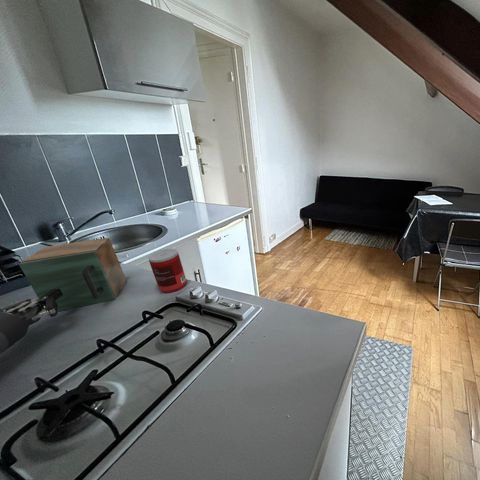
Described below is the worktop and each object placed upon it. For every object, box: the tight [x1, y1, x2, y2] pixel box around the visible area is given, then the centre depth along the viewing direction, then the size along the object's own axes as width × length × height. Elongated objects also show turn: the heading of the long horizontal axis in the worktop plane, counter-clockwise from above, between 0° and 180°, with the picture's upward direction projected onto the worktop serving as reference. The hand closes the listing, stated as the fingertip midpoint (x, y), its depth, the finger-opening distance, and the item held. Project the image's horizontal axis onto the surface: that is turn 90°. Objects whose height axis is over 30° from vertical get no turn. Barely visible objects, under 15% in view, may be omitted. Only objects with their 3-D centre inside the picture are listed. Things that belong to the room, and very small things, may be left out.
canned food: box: [148, 248, 187, 294], centre depth 78 cm, size 8×8×11 cm
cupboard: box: [21, 237, 128, 299], centre depth 75 cm, size 10×16×16 cm, turn 109°
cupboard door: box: [18, 251, 116, 313], centre depth 68 cm, size 5×16×15 cm, turn 110°
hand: (58, 291), depth 67 cm, fingers closed
